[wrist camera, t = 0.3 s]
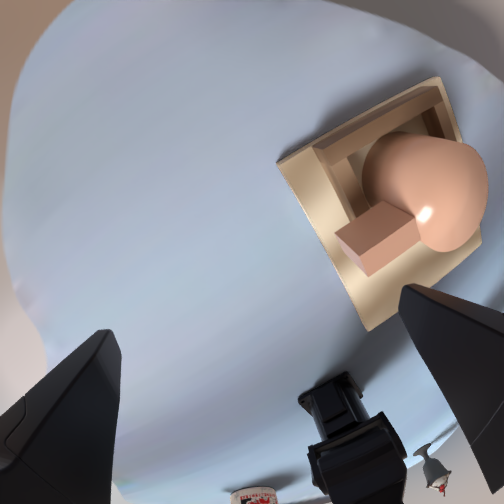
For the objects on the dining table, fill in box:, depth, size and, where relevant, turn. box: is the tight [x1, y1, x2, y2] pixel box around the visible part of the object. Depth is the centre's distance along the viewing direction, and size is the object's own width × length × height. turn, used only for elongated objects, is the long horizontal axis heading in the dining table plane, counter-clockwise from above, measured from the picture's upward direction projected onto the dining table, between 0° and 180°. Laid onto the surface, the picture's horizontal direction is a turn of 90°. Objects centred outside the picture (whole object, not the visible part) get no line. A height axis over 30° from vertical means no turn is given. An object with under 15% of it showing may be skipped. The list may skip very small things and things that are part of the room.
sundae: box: [413, 444, 451, 496], centre depth 44 cm, size 7×7×15 cm
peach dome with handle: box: [334, 131, 488, 277], centre depth 18 cm, size 11×7×6 cm, turn 122°
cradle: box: [276, 77, 482, 332], centre depth 22 cm, size 18×16×3 cm
